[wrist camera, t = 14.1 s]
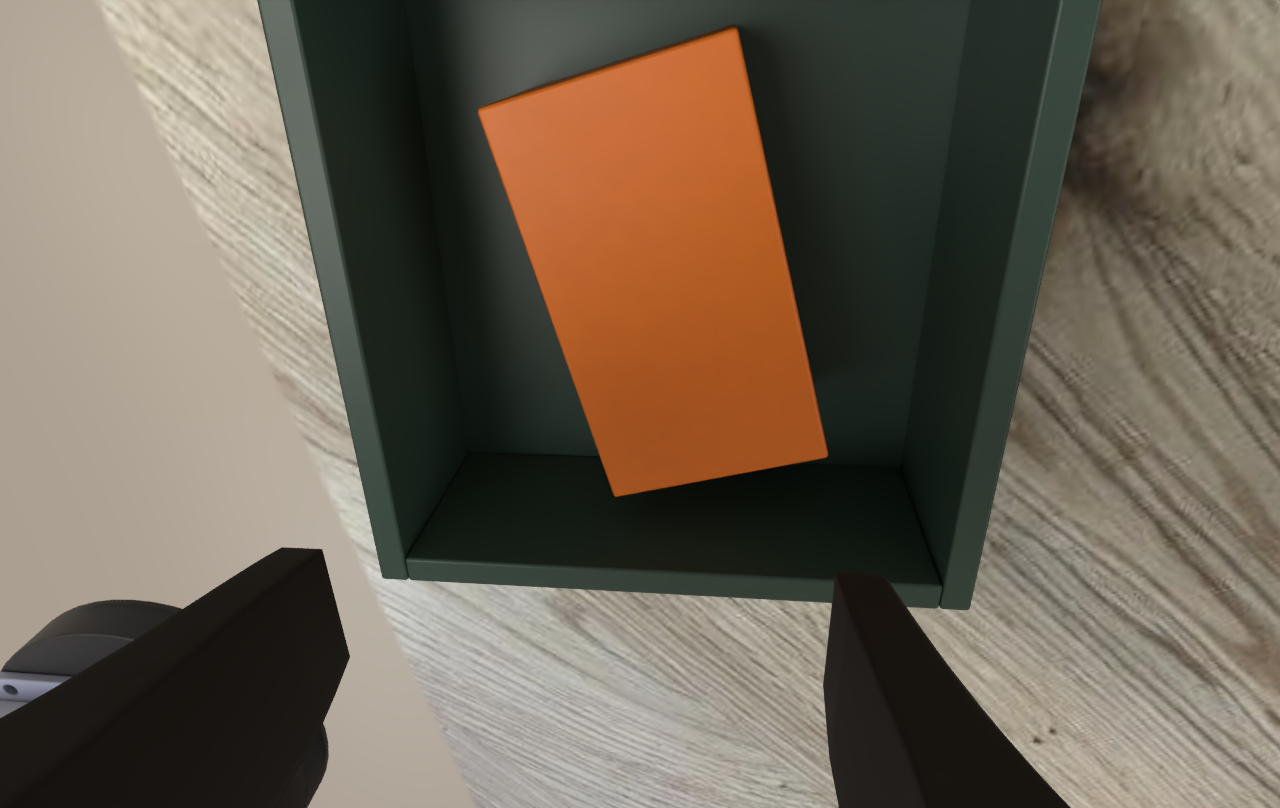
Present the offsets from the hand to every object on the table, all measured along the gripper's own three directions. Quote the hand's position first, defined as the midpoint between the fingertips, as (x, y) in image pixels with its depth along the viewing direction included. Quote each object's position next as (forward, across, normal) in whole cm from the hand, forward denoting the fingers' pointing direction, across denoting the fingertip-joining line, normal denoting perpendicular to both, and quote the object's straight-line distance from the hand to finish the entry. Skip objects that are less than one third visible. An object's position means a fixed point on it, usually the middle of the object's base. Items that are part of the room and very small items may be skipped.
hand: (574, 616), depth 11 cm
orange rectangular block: (+9, -1, -3) cm, 9 cm away
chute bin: (+9, -1, -3) cm, 10 cm away
